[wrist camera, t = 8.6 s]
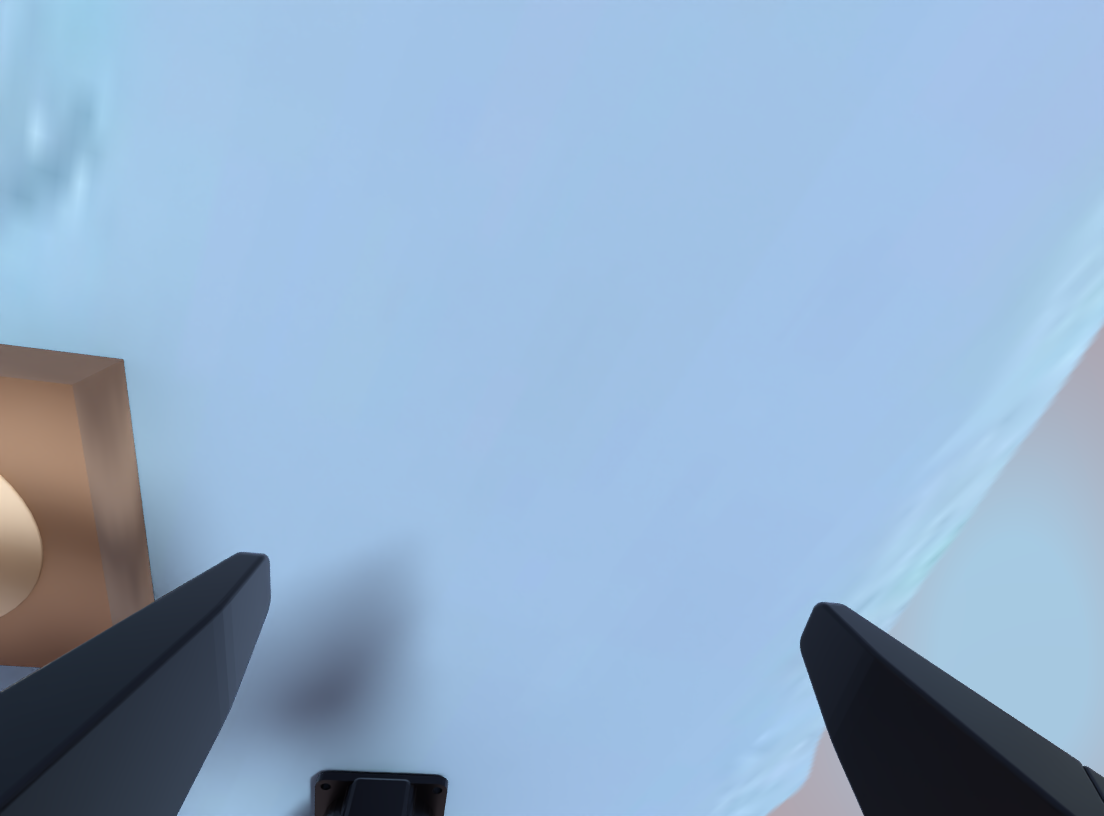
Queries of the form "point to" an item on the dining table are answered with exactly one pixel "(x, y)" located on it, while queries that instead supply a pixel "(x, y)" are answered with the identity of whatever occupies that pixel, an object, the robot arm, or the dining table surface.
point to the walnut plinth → (66, 504)
